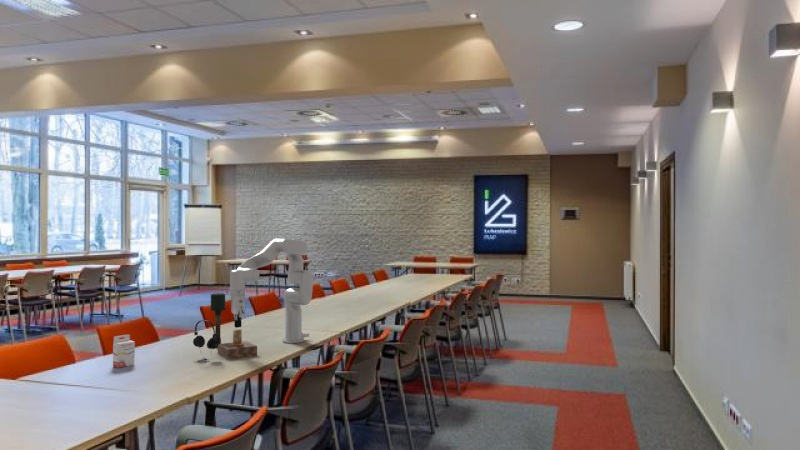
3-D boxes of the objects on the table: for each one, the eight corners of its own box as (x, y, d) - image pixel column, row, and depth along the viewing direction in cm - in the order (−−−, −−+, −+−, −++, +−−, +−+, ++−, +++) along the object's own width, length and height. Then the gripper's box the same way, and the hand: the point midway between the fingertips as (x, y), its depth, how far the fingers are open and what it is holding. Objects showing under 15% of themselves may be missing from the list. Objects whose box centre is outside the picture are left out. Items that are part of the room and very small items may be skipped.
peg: (241, 351, 308) (241, 328, 308) (245, 354, 303) (245, 330, 303) (229, 353, 305) (229, 329, 305) (233, 355, 299) (233, 331, 299)
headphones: (182, 360, 290) (182, 321, 290) (199, 356, 300) (200, 318, 300) (204, 363, 283) (204, 323, 283) (221, 359, 293) (221, 320, 293)
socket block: (246, 349, 315) (246, 340, 315) (257, 355, 302) (257, 345, 302) (217, 353, 306) (217, 344, 306) (227, 359, 293) (227, 349, 293)
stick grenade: (228, 345, 326) (228, 293, 326) (222, 348, 317) (222, 295, 317) (213, 345, 327) (214, 293, 327) (207, 348, 318) (207, 294, 318)
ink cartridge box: (118, 368, 274) (118, 337, 274) (112, 366, 277) (112, 336, 277) (135, 364, 281) (135, 334, 281) (129, 363, 284) (129, 333, 284)
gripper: (249, 293, 300) (249, 328, 300) (239, 290, 312) (240, 324, 312) (235, 295, 296) (235, 330, 296) (226, 292, 308) (226, 325, 308)
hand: (237, 327), depth 304 cm, fingers closed
